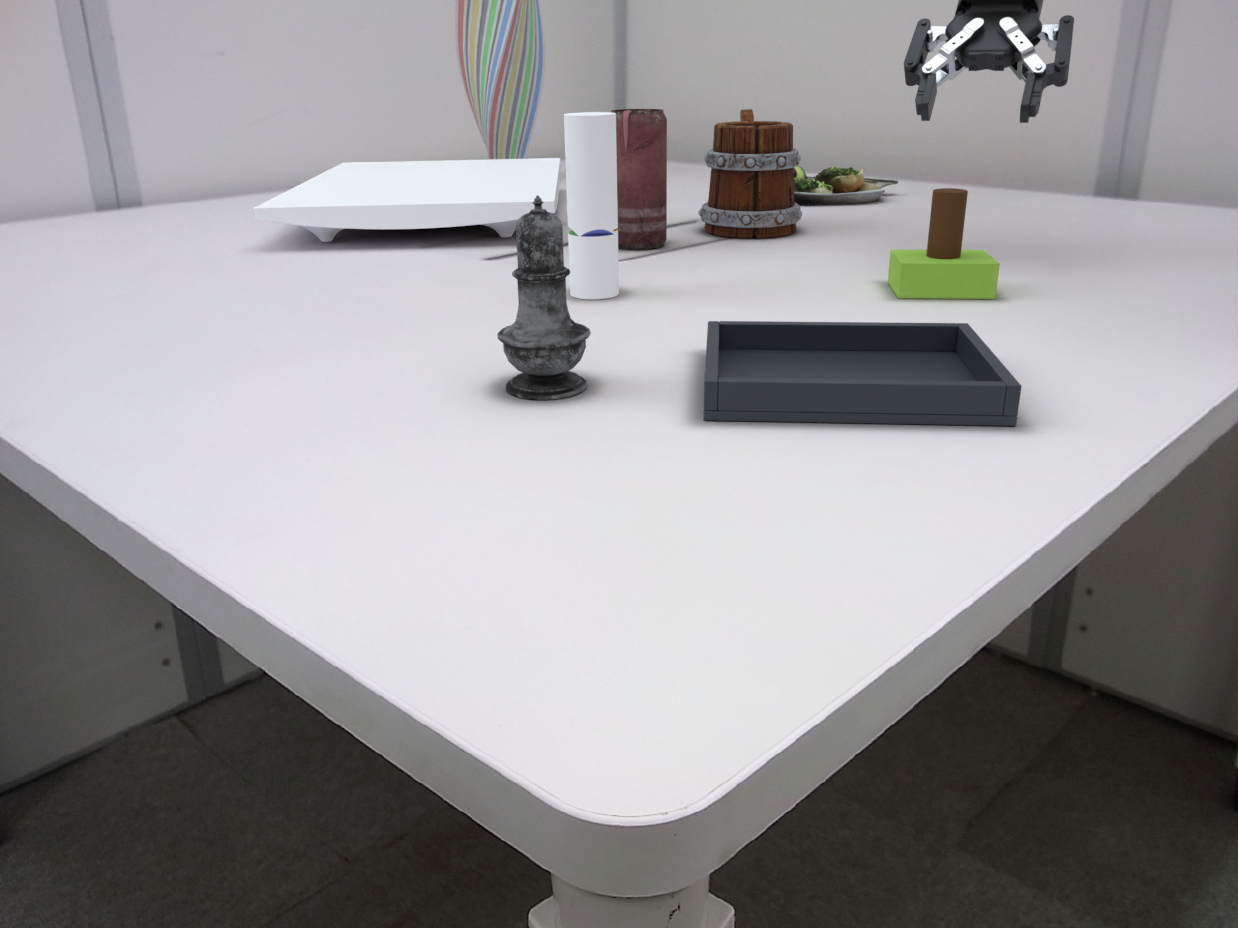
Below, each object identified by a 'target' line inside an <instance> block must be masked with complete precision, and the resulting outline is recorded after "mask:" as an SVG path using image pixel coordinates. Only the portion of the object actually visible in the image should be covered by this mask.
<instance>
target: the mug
mask: <svg viewBox="0 0 1238 928" xmlns="http://www.w3.org/2000/svg"><path fill="white" fill-rule="evenodd" d="M739 118H740V121H739V120H738V121H723V122H718V123H715V124H714V125H713V127H714V128H713V143H712V148H711V149H708V150H707V151H706V154H705V155H704V157H703V160H704V162H705V165H706V166H707V168H711V169H710V177H709V178H710V179H709V188H708V198H707V201H706V202H704V203H703V204H702V205H701V208H700V209H699V210H698V212H697V213H698V216H699V217H700V219H701V221H702V222H703V223H704V231H705V232H706V233H708V234H710V235H715V236H716V237H717V236H718V237H722V238H734V239H753V237H756V238H757V239H768V238H769V239H770V238H777V237H784V236H789V235H791V234H794V232H796V231H797V223H798V222H800V221H801V219H802V217H803V211H802V209H801V205H798V204H797V203H795V202H794V175H793V168H794V167H796V166H798V165H799V166H800V162H801V160H802V157H801V155H800V154H799V150H797V148H794V125H793V124H792V123H791V122H787V121H777V120H775V121H774V120H755V116H754V111H753V109H751V108H750V109H749V108H748V109H741V110H740V112H739Z"/></svg>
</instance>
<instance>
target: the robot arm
mask: <svg viewBox="0 0 1238 928" xmlns="http://www.w3.org/2000/svg"><path fill="white" fill-rule="evenodd" d="M1043 5H1044V0H958V2H957V4H956V9H955V13H954V16H953V19H952V20H951V21H949V23H948V24H947V25H932V24H931V23H932V22H931V20H930V19H929V18H927V17H926V18H921V19H919V20H918V21H917V23H916V26H915V29H914V32H913V34H912V37H911V41H910V44H909V46H908V49H907V51H906V54H905V58H904V61H903V71H904V81H905V85H906V86H908V87H915V86H918V87H917V91H916V95H915V99H914V103H915V112H916V115H917V116H920V118H921V119H920V120H921V121H922V122H931V118H932V114H933V111H934V110H933V109H934V106H935V102H936V99H937V94H938V88H939V87H940V86H942V85H943V84H944V83H945V82H946V81H947V80H949V81H952V80H954V79H955V78H956V77H957V76H959V75H960V74H961V73H962V72H964V71H965V70H966V69H968V72H979V71H984V70H988V71H994V72H1004V71H1005V69H1007V68H1009V69H1010V70H1011V72H1013V74H1014V75H1015V76H1016V77H1017V78H1018V80H1019V81H1022V80H1023V82H1024V83H1025V84H1024V88H1023V93H1022V98H1021V102H1020V107H1019V108H1020V109H1019V123H1020V124H1029V121H1030V118H1036V117H1037V115H1038V114H1039V111H1040V107H1041V102H1042V97H1043V93H1044V91H1045V89H1046V88H1047V87H1049V86H1054V87H1057V88H1061V87H1065V86H1066V85H1067V84H1068V81H1069V80H1068V79H1069V71H1070V63H1071V56H1072V55H1071V54H1072V45H1073V37H1074V26H1075V25H1074V24H1075V17H1074V16H1072V15H1070V14H1066V15H1063V16H1061V17H1060V19H1059V21H1058V22H1057V23H1042V21H1041V19H1040V18H1041V13H1042V9H1043ZM1042 40H1043V41H1046V42H1047V46H1048V48H1050V49H1051V51H1052V52H1055V54H1054V62H1050V63H1045V62H1044V60H1042V58H1041V57H1040V55H1038V54H1037V51H1036V49H1035V47H1036V46H1038V45H1039V43H1040V42H1041V41H1042ZM942 42H945V43H944V44H943V45H941V47H940V48H939V50H938V52H937V54H936V55H934V56H933V57H932V58H931V59H929V60H928V61H927V57H928V54H929V53H934V51H935V50H934V49H935V48H937V46H938V45H939V44H940V43H942ZM926 61H927V62H926Z"/></svg>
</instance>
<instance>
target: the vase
mask: <svg viewBox="0 0 1238 928" xmlns="http://www.w3.org/2000/svg"><path fill="white" fill-rule="evenodd" d="M454 4H455V6H454V37H455V39H454V40H455V51H456V59H457V64H458V69H459V74H460V80H461V82H462V87H463V89H464V93H465V95H466V99H467V102H468V104H469V109H470V111H471V113H472V115H473V118H474V121H475V123H476V126H477V129H478V131H479V134H480V136H481V139H482V141H483V143H484V146H485V148H486V153H487V160H488V159H527V158H526V157H527V154H528V152H529V151H528V150H529V147H530V144H531V140H532V136H533V132H534V129H535V125H536V122H537V121H536V120H537V117H538V112H539V109H540V103H541V98H542V92H543V87H544V80H545V70H546V69H545V68H546V42H545V31H544V23H543V16H542V15H543V14H542V10H541V3H540V0H455V3H454Z"/></svg>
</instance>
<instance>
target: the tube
mask: <svg viewBox="0 0 1238 928" xmlns="http://www.w3.org/2000/svg"><path fill="white" fill-rule="evenodd" d="M563 126H564V127H563V128H564V129H563V130H564V131H563V132H564V155H565V156H564V157H565V158H564V159H565V184H566V185H565V187H566V188H565V189H566V212H567V213H566V216H567V227H568V228H569V229H570V230H569V231H567V232H568V233H567V238H568V239H567V240H568V241H567V242H568V243H567V244H568V269H569V270H570V274H569V292H570V293H569V295H570V296H571V297H572V298H574V299H580V300H607V299H611V298H615V297H617V296H619V294H620V279H619V277H620V276H619V275H620V274H619V273H620V271H619V270H620V269H619V248H618V229H617V228H618V208H617V150H616V113H611V111H610V112H609V111H585V112H583V111H582V112H581V111H580V112H568V113H564V114H563Z"/></svg>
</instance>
